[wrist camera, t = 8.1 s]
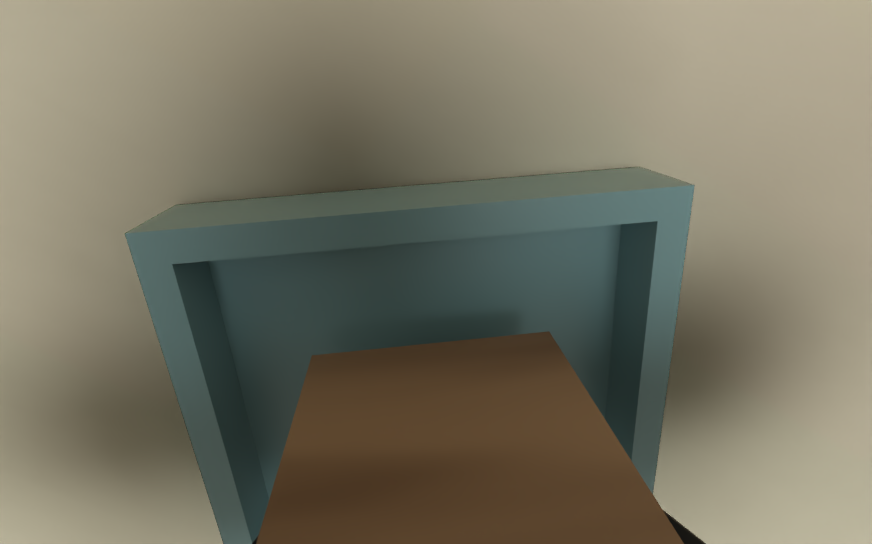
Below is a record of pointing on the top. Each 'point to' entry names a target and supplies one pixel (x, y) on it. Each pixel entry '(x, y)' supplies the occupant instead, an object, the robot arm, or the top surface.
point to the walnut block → (456, 452)
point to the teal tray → (408, 300)
